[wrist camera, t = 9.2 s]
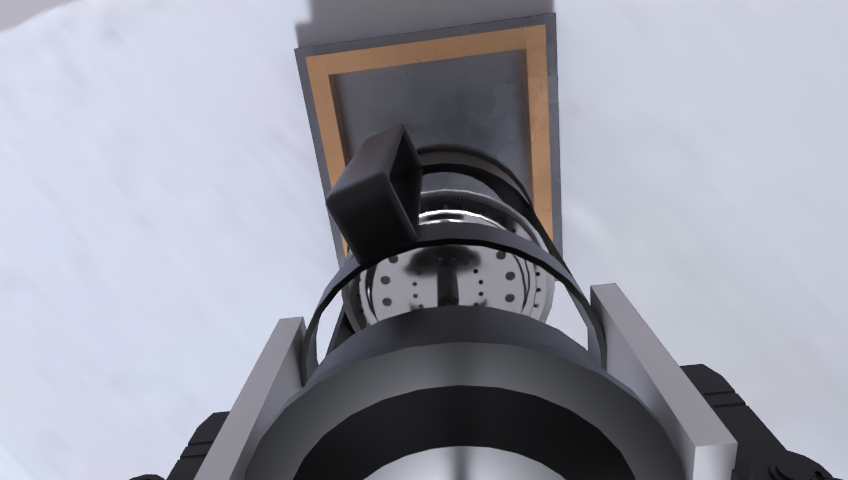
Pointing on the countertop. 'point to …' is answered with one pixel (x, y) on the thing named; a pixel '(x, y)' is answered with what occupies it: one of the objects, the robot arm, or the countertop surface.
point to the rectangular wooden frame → (444, 103)
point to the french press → (453, 343)
